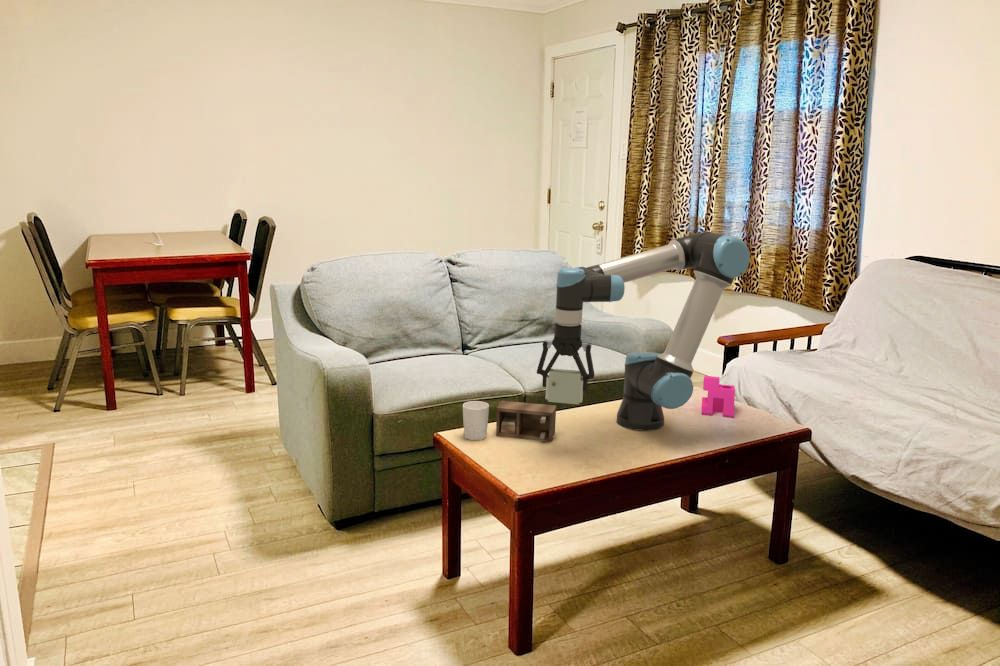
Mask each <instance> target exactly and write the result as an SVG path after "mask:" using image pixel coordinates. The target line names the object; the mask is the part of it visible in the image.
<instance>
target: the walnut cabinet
mask: <svg viewBox="0 0 1000 666" xmlns="http://www.w3.org/2000/svg"><path fill="white" fill-rule="evenodd" d="M556 416H557V405H556V404H555V405H554V404H553V405H552V404H544V403H534V402H533V403H532V402H531V403H530V402H518V401H510V400H509V401H507V400H501V401H500V403H499V404H498V405H497V407H496V421H495V422H496V426H495V427H496V428H495V429H496V430H495V435H496V437H503V438H513V439H514V438H515V439H523V440H524V439H525V440H535V441H542V442H543V441H544V442H552V441H553V439H554V437H555V434H556V423H557V422H556V418H557V417H556Z"/></svg>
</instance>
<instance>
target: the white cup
mask: <svg viewBox="0 0 1000 666" xmlns="http://www.w3.org/2000/svg"><path fill="white" fill-rule="evenodd" d="M489 408H490V405H489V403H487V402H485V401H480V400H472V401H471V400H470V401H465V402H464V403H463V404H462V420H463V432H464V433H463V437H464V438H465V439H467V440H470V441H481V440H484V439H486V438H487V435H488V426H489V424H488V423H489V411H490V409H489Z"/></svg>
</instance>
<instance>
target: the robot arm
mask: <svg viewBox="0 0 1000 666" xmlns="http://www.w3.org/2000/svg"><path fill="white" fill-rule="evenodd" d="M750 255H751V254H750V250H749V248H748V245H747V244H746V242H745V241H743V240H742V239H741V238H739V237H737V236H734V235H730V234H724V233H716V232H713V231H702V232H695V233H693V234H689V235H685V236H682V237H679V238H676V239H675V238H674V239H671V240H670V241H669V242H668V244H666V245H661V246H660V247H659V246H658V247H655V248H651V249H649V250H645V251H642V252H638V253H635V254H630V255H627V256H623V257H620V258H617V259H614V260H613V259H612V260H610V261H605V262H602V263H598V264H596V265H590V266H587V267H584V266H576V267H563V268H560V269H559V270H558V272H557V280H556V296H555V298H556V300H555V313H554V316H555V317H554V318H555V319H554V322H556V323H555V324H554V333H553V334H554V337H553V339H552V340H548V339H544V340H543V342H542V352H541V355H540V358H539V361H538V362H539V363H538V366H537V369H536V374H537V375H540V376H541V377H542V385H541V386H542V388H545V400H548V387H549V371H550V369H551V368H553V366H554V364H555V362H556V361H557V359H558V357H559V356H563V357H564V356H567V357H573V359H574V362H575V364H576V366H577V368H578V371H580V373H581V375H582V378H581V382H580V399H579V402H580V403H583V397H584V392H586V391H587V390H588V384H589V383H588V382H589V380H591V379H592V380H593V379H594V378H595V370H594V364H593V359H592V358H593V357H592V352H591V351H592V343H590V342H589V343H585V342H583V341H582V323H583V308H584V307H583V306H584V303H612V302H620V301H621V300H622V298H623V297H624V294H625V287H626V286H625V284H626V283H628V282H632V281H635V280H638V279H642V278H646V277H649V276H653V275H656V274H660V273H663V272H667V271H670V270H674V269H675V270H676V271H683V270H686V269H694V270H693V273H694V276H695V280H694V283H693V285H692V287H691V290H690V292H689V294H688V296H687V299H686V302H685V303H684V306H683V307H682V308H683V309H682V311H681V312H680V315H679V317H678V320H677V322H676V324H675V327H674V329H673V331H672V333H671V336H670V339H669V341H668V342H667V345H666V348H665V350H664V352H662V353H658V352H653V351H651V352H649V351H640V352H632V353H631V352H630V353H628V354H627V355H626V357H625V362H624V377H623V378H624V379H623V381H624V382H623V397H622V400H621V402H620V406H619V408H618V411H617V413H616V420H615V421H616V423H617V424H618V425H619V426H621V427H624V428H626V429H629V430H634V431H635V430H636V431H655V430H658V429H659V430H660V429H662V428H663V427H664V426H665V415H664V411H663V408H664V409H668V410H675V409H678V408H680V407H682V406H684V405H685V404H686V403H688V402H689V401H690V399H691V397H692V396H693V393H694V385H693V380H692V376H693V374H694V368H693V364H692V363H693V360H694V358H695V356H696V354H697V351H698V349H699V347H700V345H701V342H702V340H703V338H704V335H705V334H706V332H707V328H708V326H709V324H710V322H711V320H712V318H713V315H714V313H715V311H716V308H717V305H718V303H719V301H720V299H721V296H722V294H723V292H724V290H725V289H728V288H729V287H731V286H732V284H733V282H734V280H735V278H739V277H740V276H741V275H743V274H744V273H745V272H747V270H748V267H749V266H750V265H749V264H750V262H751V261H750V260H751V256H750ZM552 345H553V347H554V349H555V351H556V352H555V353H554V354H553V356H552V358H551V359H550V362H548V365H547V366H546V367H545V369H543V368H544V365H545V361H546V358H547V355H548V350H549V349H550V348H551V347H552ZM581 348H582V349H583V352H585V358H586V364H587V365H586V366H587V369H588V372H587V370H586V368H585V365H584V363H583V361H582V359H581V357H580V353H579V350H580V349H581Z"/></svg>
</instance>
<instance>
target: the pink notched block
mask: <svg viewBox="0 0 1000 666" xmlns="http://www.w3.org/2000/svg"><path fill="white" fill-rule="evenodd" d="M702 386H703V387H702V390H703V391H706V392H707V397H701V413H700V414H701V416H707V417H713V413H721V414H722V418H729V419H734V417H735V401H736V400H735V396H736V395H735V394H736V388H735V387H736V386H735V385H729V384H722V383H721V384H720V376H709V375H704V376H703V385H702Z"/></svg>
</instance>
